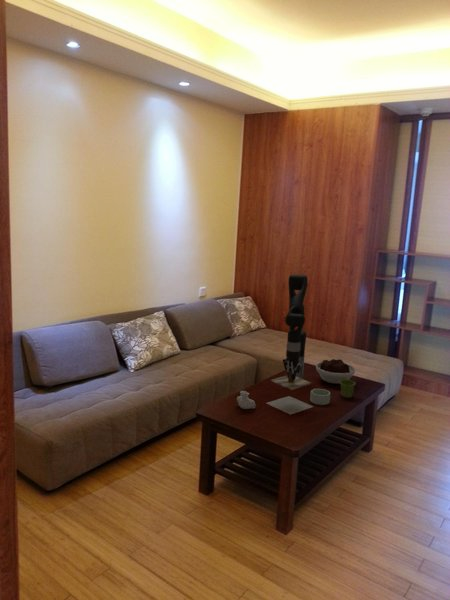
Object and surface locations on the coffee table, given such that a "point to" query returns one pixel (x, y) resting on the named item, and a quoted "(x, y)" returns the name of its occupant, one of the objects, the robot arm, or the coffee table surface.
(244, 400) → the bust
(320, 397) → the bowl
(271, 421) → the coffee table surface
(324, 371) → the white round tub
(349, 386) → the plant pot
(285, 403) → the tray
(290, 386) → the cover board
